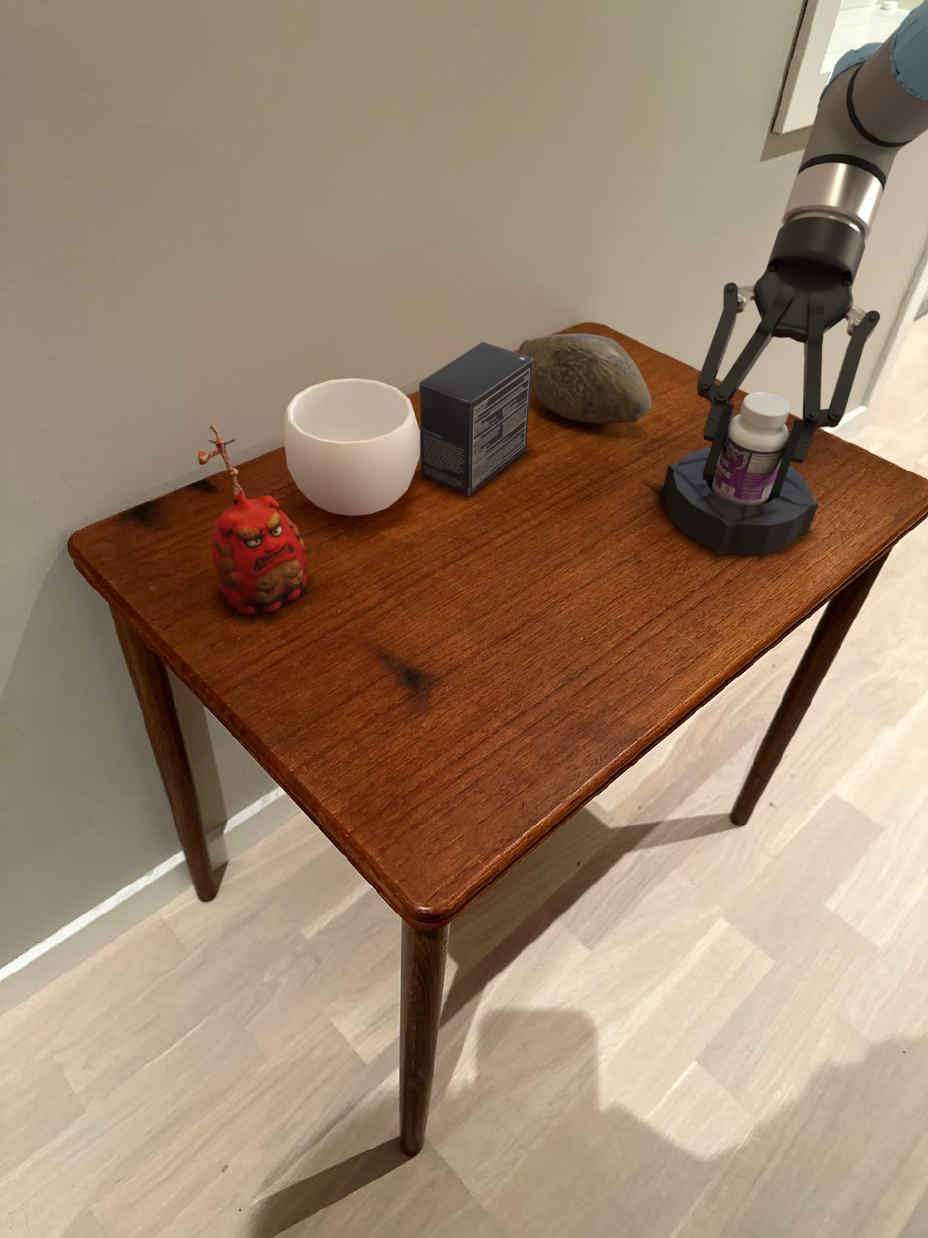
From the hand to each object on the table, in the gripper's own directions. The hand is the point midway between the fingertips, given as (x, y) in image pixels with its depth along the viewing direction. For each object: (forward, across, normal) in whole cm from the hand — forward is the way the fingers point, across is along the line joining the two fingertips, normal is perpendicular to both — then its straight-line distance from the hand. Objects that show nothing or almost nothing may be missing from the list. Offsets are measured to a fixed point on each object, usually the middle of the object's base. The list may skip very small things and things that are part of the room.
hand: (740, 485), depth 77 cm
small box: (+4, +26, -4) cm, 27 cm away
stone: (-7, +20, -15) cm, 26 cm away
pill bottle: (0, 0, -5) cm, 5 cm away
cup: (+11, +34, +3) cm, 36 cm away
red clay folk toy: (+22, +34, +14) cm, 43 cm away
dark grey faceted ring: (+1, 0, -7) cm, 7 cm away
